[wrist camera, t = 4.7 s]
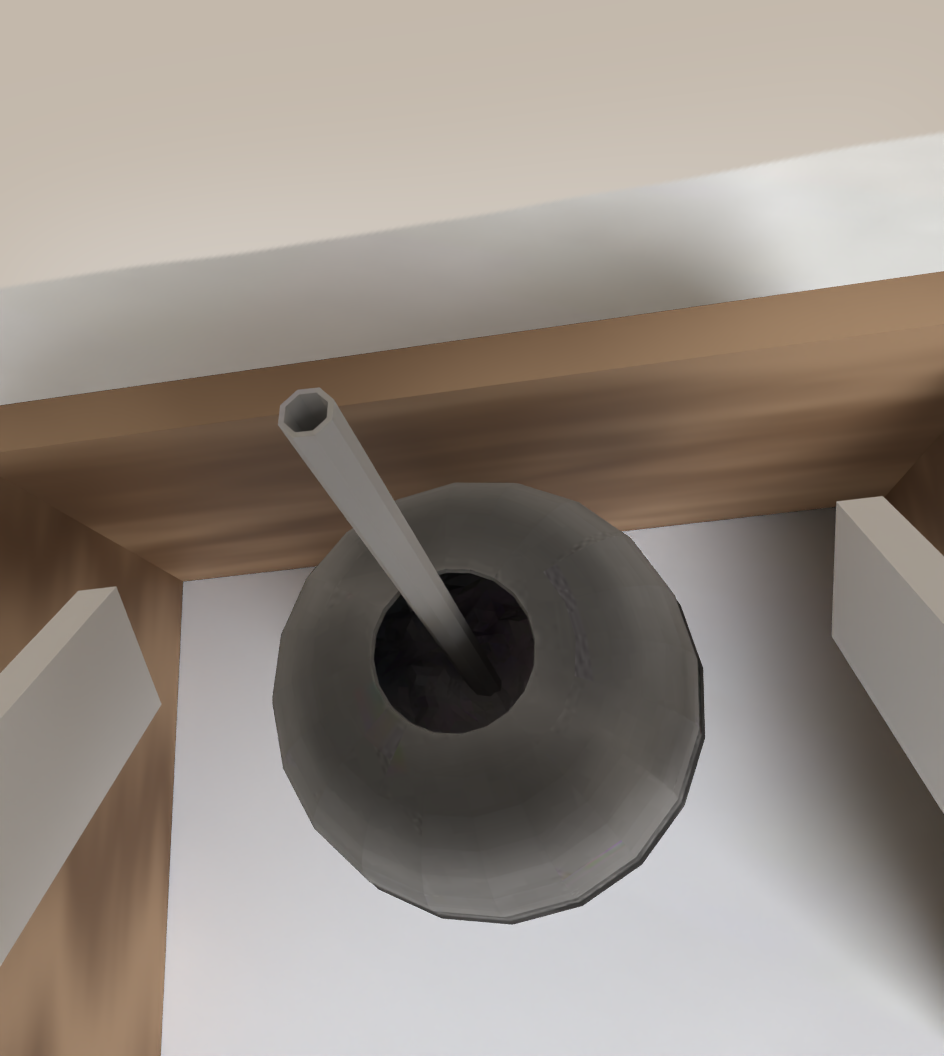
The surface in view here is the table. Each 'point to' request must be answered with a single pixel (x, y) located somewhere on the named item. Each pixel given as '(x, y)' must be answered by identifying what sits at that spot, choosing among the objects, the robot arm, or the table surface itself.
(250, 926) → the table surface
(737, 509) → the open-sided wooden shelf
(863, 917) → the table surface
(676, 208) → the table surface
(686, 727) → the beverage cup
